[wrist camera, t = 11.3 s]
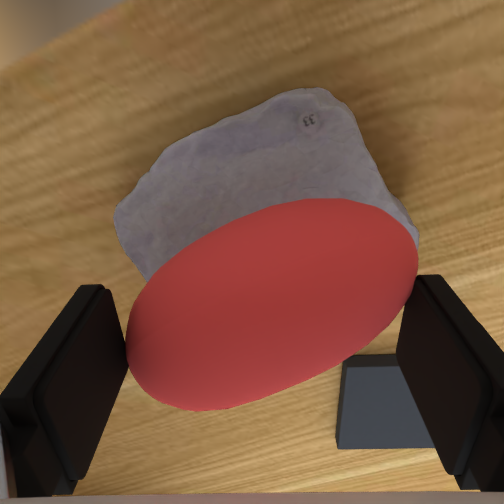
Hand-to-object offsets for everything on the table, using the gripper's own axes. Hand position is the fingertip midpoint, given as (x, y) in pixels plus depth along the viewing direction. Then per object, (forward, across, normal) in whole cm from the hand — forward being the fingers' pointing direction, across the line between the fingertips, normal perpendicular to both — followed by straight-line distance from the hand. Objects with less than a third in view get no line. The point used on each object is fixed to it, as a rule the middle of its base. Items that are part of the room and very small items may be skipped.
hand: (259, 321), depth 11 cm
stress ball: (+3, 0, 0) cm, 3 cm away
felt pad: (+9, -9, +14) cm, 19 cm away
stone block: (+9, 0, 0) cm, 9 cm away
